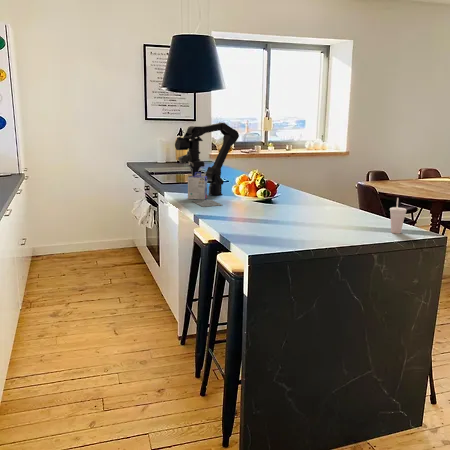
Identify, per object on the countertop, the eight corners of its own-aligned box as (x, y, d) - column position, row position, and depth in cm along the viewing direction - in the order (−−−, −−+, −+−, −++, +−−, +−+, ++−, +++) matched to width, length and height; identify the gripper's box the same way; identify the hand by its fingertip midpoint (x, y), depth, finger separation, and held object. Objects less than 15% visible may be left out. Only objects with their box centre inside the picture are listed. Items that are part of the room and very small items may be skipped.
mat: (211, 200, 254) (211, 199, 254) (222, 205, 240) (222, 205, 240) (192, 201, 250) (192, 200, 250) (202, 206, 236) (202, 206, 236)
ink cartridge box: (207, 198, 260) (207, 172, 257) (205, 200, 255) (205, 173, 252) (190, 197, 262) (190, 171, 259) (187, 199, 257) (187, 172, 254)
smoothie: (384, 230, 192) (388, 196, 189) (400, 230, 193) (403, 196, 189) (391, 234, 186) (394, 199, 183) (407, 234, 186) (410, 199, 183)
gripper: (174, 148, 263) (175, 176, 267) (184, 151, 247) (184, 181, 250) (194, 148, 267) (194, 175, 271) (204, 150, 251) (204, 180, 254)
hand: (194, 178), depth 262 cm, fingers closed
